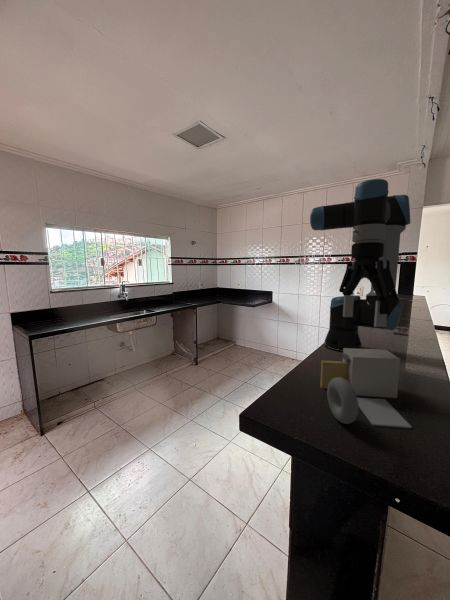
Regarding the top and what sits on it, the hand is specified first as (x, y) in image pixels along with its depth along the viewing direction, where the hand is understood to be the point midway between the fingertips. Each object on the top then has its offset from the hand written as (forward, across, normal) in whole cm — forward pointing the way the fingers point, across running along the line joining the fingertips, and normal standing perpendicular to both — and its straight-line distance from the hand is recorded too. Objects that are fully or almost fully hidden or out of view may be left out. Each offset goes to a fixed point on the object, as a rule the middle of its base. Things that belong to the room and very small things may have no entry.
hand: (362, 321), depth 70 cm
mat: (+21, +10, -1) cm, 23 cm away
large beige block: (+20, -1, +4) cm, 21 cm away
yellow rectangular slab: (+21, -3, -4) cm, 21 cm away
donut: (+21, +12, -12) cm, 27 cm away
